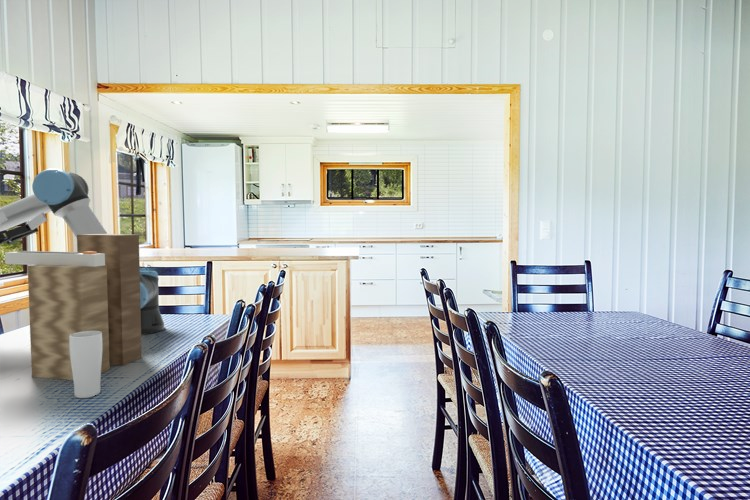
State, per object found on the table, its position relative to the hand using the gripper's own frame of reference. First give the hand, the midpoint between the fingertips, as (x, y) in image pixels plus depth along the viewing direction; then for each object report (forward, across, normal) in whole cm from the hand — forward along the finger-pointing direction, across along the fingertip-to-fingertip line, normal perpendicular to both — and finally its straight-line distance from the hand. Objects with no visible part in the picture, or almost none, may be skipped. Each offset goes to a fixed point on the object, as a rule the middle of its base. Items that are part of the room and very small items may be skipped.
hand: (25, 215), depth 140 cm
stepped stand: (+3, +9, -52) cm, 53 cm away
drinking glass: (+16, +28, -60) cm, 68 cm away
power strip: (+14, +14, -24) cm, 31 cm away
